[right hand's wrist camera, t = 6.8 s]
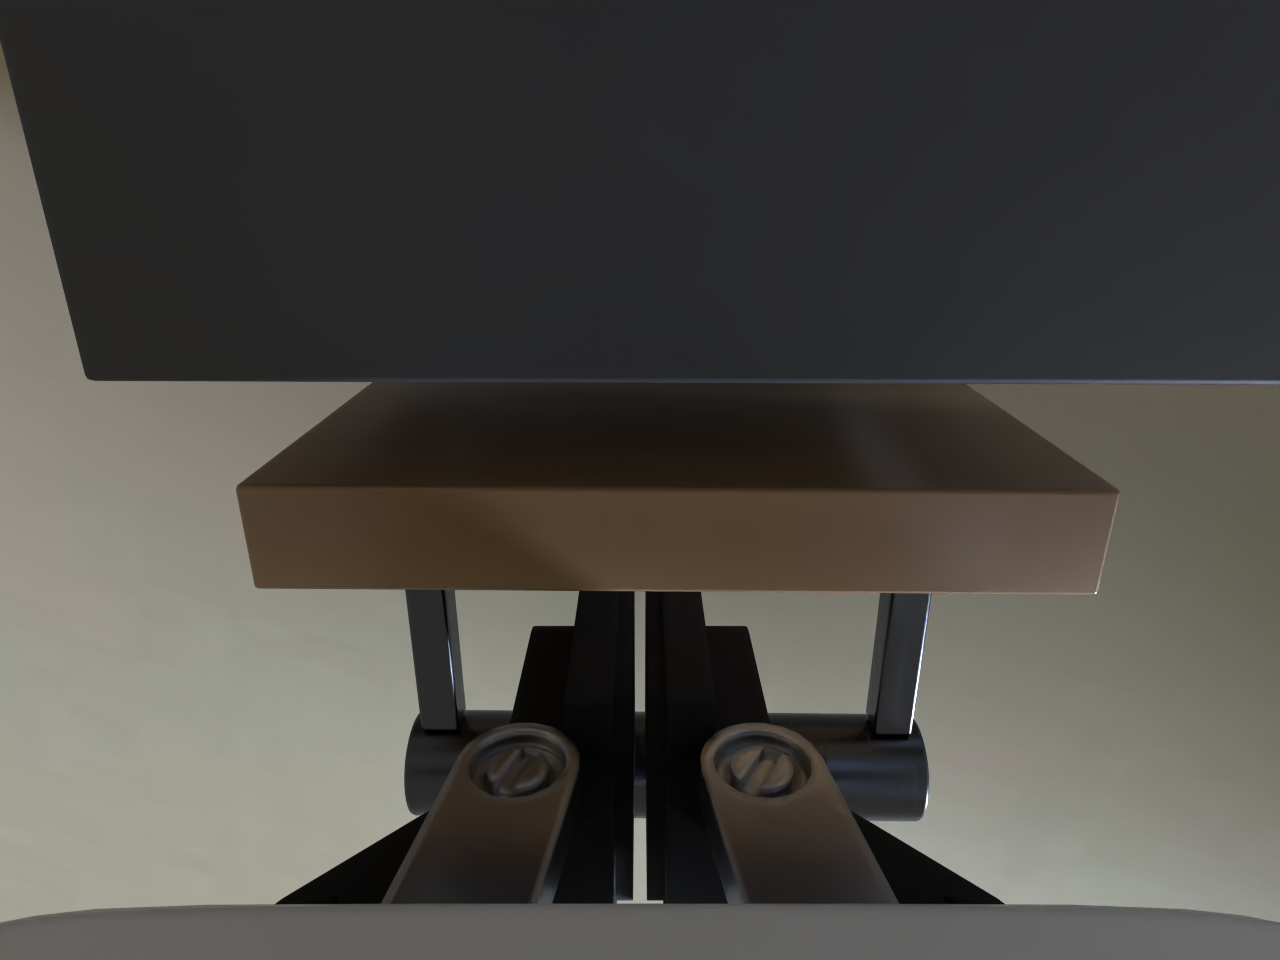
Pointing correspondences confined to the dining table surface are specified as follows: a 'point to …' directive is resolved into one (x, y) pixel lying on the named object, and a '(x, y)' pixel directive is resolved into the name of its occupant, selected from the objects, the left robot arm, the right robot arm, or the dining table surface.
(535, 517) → the drawer
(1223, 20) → the cabinet
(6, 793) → the dining table surface
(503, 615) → the dining table surface
